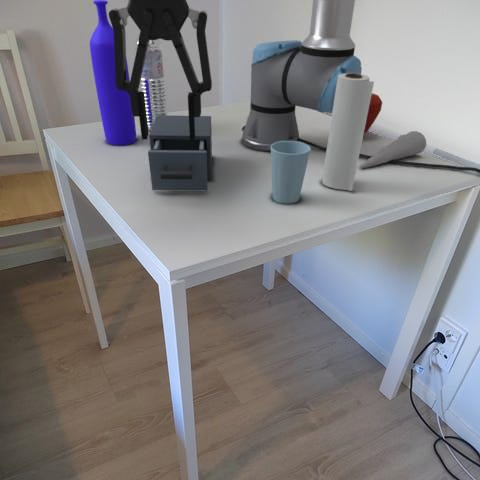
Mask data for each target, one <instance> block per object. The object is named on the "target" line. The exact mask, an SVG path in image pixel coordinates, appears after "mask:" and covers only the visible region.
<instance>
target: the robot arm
mask: <svg viewBox="0 0 480 480" xmlns="http://www.w3.org/2000/svg"><path fill="white" fill-rule="evenodd" d="M355 3H356V0H312V7H311V17H310V18H311V19H310V27H309V34H308V35H307V37H306V38H304V39H303V41H301V40H279V41H277V40H276V41H269V42H263V43H259V44H256V45H255V46H254V48H253V49H252V57H251V63H250V67H251V70H250V71H251V72H250V73H251V74H250V107H249V108H250V109H249V113H248V116H247V119H246V122H245V125H244V126H242V127H241V132H242V144H243V145H245V146H246V147H248V148H250V149H252V150H257V151H261V152H271V145H272V144H273V143H275V142H279V141H297V142H301V143H304V144H307V145H308V146H311V147H313V148H316V149H318V150H322V151H325V152H326V151H327V147H325V146H321V145H319V144H316V143H314V142H311V141H308V140H307V139H302V138H300V131H299V126H298V122H297V116H296V107H300V108H305V109H309V110H312V111H316V112H317V111H318V112H319V113H328V114H332V112H333V105H334V98H335V92H336V85H337V78H338V75H340V74H346V73H352V74H361V75H362V62H361V59H360V58H359V57H358V56H355V49H356V43H355V42H354V41H353V39H352V38H351V30H352V24H353V23H352V22H353V16H354V11H355ZM108 17H109V18H108V19H109V21H110V25H111V27H112V28H113V30H114V50H115V77H116V87H117V89H119V90H124V91H126V92H128V93H129V95H130V101H131V109H132V114H133V116H134V117H138V118H139V126H140V135H141V140H143V141H147V140H148V138H149V134H150V131H148V123H147V114H146V105H145V96H144V92H143V91H140V87H139V85H140V80H141V76H142V72H143V67H144V63H145V58H146V54H147V49H148V45H149V42H150V40H157V39H159V40H164V41H171V43H172V46H173V47H174V49H175V52H176V54H177V57H178V59H179V62H180V65H181V67H182V70H183V72H184V75H185V77H186V80H187V84H188V86H189V88H190V91H189V92H187V109H188V116H189V131H190V140H195V117H200V116H202V95H203V94H204V93H206V92H210V91H211V90H212V87H213V81H212V73H211V66H210V65H211V64H210V60H209V59H210V58H209V49H208V42H207V35H206V29H207V28H206V27H207V22H208V13H207V11H206V10H197V9H193V8H190V6H189V4H188V2H187V0H128V2H127V5H126V6H125V7H121V8H112V9H110V10H109V12H108ZM129 17H130V18H131V20H132V21H133V22H134V24H135V25H136V27H137V28H138V29H139V30H140V31H139V34H140V36H139V40H138V47H137V52H136V51H135V57H134V61H133V67H132V70H131V75H130V81H128V80H127V79H126V58H127V43H126V41H127V37H126V36H127V35H126V27H127V25H128V24H129V21H128V19H129ZM187 18H188V19H190V21H191V26H192V28H193V29H195V30H196V42H197V49H198V56H199V62H200V63H199V64H200V70H201V77H202V81H200V82H199V79H198V77H197V74H196V71H195V69H194V66H193V62H192V60H191V58H190V55H189V52H188V50H187V47H186V44H185V40H184V38H183V35H182V33H181V30H182V28H183V26H184V24H185V23H186V20H187ZM372 156H373V155H368V154H364V153H360V154H359V158H364V159H367V160H368V159H369V158H371V157H372ZM388 163H389V164H397V165H405V166H406V165H407V166H413V167H414V166H415V167H424V168H438V169H449V170H456V171H473V172H476V173H478V174H480V168H477V167H474V166H473V167H470V166H458V165H457V166H456V165H450V164H438V163H437V164H436V163H434V164H433V163H426V162H415V161H405V160H399V159H397V160H391V161H389V162H388Z"/></svg>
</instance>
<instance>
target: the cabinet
mask: <svg viewBox="0 0 480 480" xmlns="http://www.w3.org/2000/svg"><path fill="white" fill-rule="evenodd" d="M148 138H149V146H150V147H149V148H150V150H153V148H154V145H155V142H156V140H157V139H183V140H190V131H189V115H168V114H167V115H157V117H156V119H155V122H154V124H153V127H152V129H151V131H149V135H148ZM212 138H213V137H212V116H211V115H200V117H195V140H205V151H207V182H209V181H210V182H211V181H212V166H213V165H212V164H213V143H212V140H213V139H212Z"/></svg>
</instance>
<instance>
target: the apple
mask: <svg viewBox="0 0 480 480" xmlns="http://www.w3.org/2000/svg"><path fill="white" fill-rule="evenodd" d="M382 106H383V101H382V99H381V97H380V96H379V95H378V94H377V93H373V92H372V95H371V100H370V104H369V109H368V114H367V119H366V124H365V129H364V134H363V135H365V134H366V133H367V132H369V130H370V128H371V127H372V125H373V124H374V123H375V122H376V120H377V118H378V116H379V114H380V113H381V111H382Z"/></svg>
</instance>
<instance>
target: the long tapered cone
mask: <svg viewBox="0 0 480 480" xmlns="http://www.w3.org/2000/svg"><path fill="white" fill-rule="evenodd" d="M426 139H427V138H426V137H425V135H424V134H423V133H422V132H420V131H418V130H411V131H409V132H408V133H406V134H403V135H401V136H400V137H398V138H396V139H395V140H394V141H392V142H391V143H389V144H388V145H386V146H384V147H383V148H382V149H380V150H379V151H377V152H376V153H375V154H374V155H371V156H372V157H371V158H369V159H368V158H367V159H365V160H364V161H363V162H362V163H361V164H360V166H359V167H360V168H361V169H367V168H371V167H374V166H379V165H382V164H386V163H389V161H391V160H400V159H404V158H408V157H412V156H416V155H419V154H421V153H423V152H424V151H425V149H426V148H427V147H426V146H427V140H426Z"/></svg>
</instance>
